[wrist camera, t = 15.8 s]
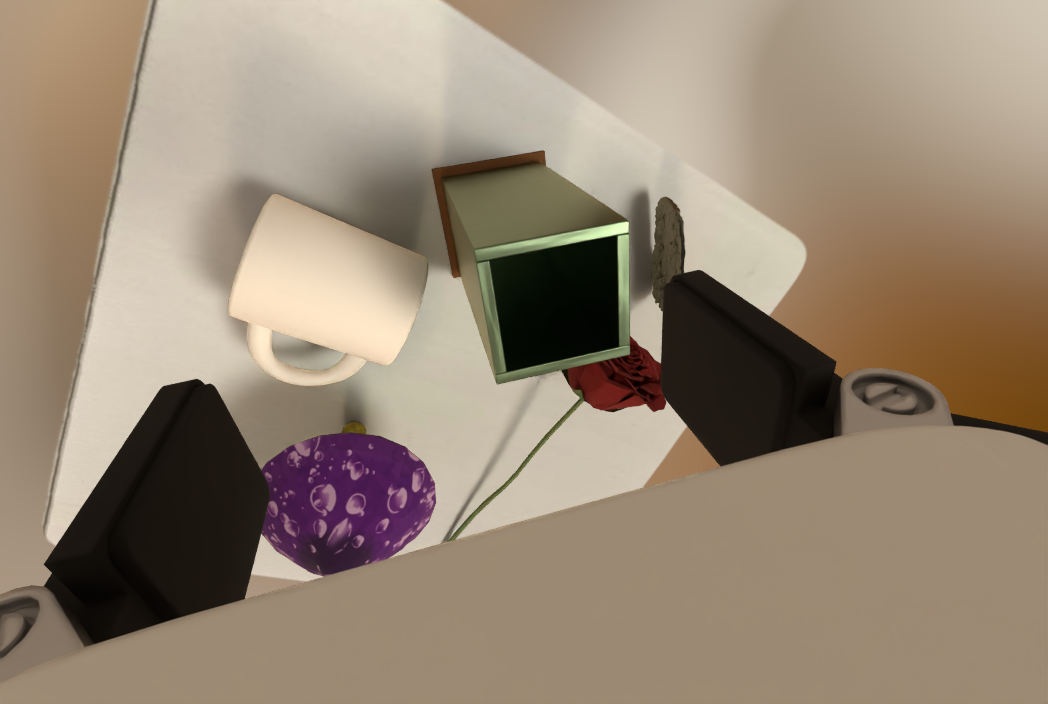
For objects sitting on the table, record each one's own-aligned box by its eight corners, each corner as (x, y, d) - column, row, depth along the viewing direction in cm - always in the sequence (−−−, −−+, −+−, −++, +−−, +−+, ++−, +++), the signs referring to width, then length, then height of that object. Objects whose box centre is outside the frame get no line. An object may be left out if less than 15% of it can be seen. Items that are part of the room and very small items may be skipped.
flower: (396, 586, 46) (598, 362, 32) (401, 490, 54) (565, 277, 40) (498, 602, 51) (712, 413, 37) (489, 511, 59) (662, 328, 45)
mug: (282, 180, 33) (254, 210, 26) (425, 243, 37) (433, 283, 30) (232, 333, 37) (197, 393, 30) (366, 374, 41) (361, 435, 34)
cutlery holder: (440, 176, 35) (473, 249, 21) (538, 160, 36) (629, 220, 22) (459, 271, 38) (496, 385, 25) (547, 254, 39) (630, 354, 26)
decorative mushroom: (303, 343, 39) (260, 480, 26) (452, 391, 44) (477, 525, 31) (254, 463, 43) (197, 632, 30) (395, 494, 48) (397, 649, 35)
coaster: (431, 168, 35) (431, 169, 34) (543, 150, 36) (544, 151, 36) (453, 277, 39) (453, 278, 39) (553, 257, 40) (553, 258, 40)
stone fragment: (650, 191, 39) (680, 210, 35) (659, 190, 39) (690, 209, 35) (647, 303, 44) (673, 331, 40) (654, 301, 44) (681, 329, 40)
